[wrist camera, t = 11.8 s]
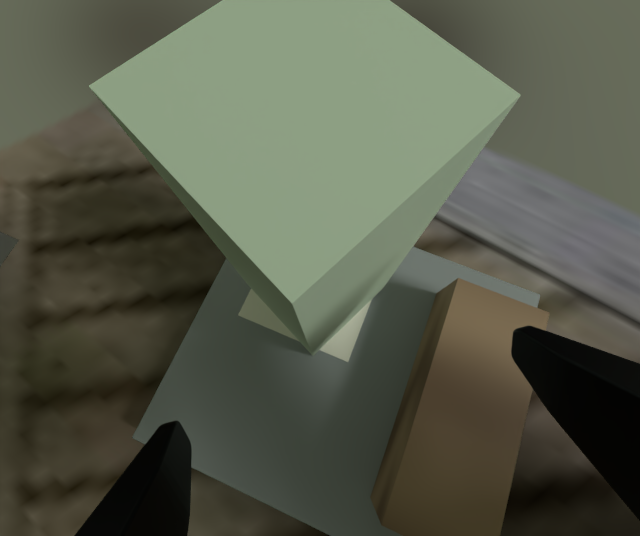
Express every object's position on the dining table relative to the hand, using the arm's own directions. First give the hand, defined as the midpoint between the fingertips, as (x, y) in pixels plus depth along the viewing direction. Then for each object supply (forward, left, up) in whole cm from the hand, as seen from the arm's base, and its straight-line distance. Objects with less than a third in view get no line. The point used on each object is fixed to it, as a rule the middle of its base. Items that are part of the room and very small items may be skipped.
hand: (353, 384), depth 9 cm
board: (+1, 0, -9) cm, 9 cm away
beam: (+1, -5, -8) cm, 10 cm away
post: (+4, +3, -8) cm, 9 cm away
